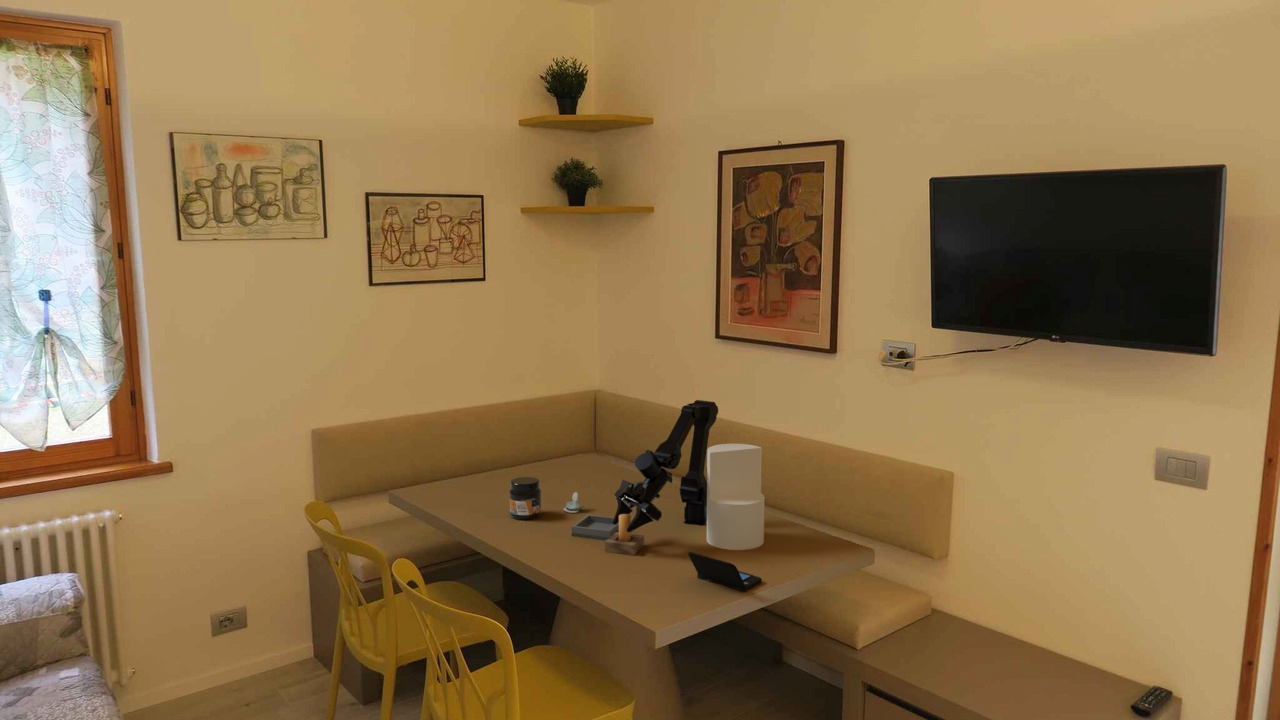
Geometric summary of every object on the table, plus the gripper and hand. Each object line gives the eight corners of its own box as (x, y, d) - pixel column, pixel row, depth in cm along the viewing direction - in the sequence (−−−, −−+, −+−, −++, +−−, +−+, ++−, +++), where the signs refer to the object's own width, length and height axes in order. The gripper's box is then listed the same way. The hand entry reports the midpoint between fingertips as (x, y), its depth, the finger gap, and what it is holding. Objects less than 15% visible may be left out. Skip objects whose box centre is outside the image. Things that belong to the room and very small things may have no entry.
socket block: (644, 545, 265) (644, 535, 264) (633, 555, 256) (633, 545, 256) (616, 541, 268) (616, 532, 267) (604, 551, 259) (604, 541, 259)
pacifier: (572, 515, 294) (586, 511, 297) (571, 497, 293) (586, 493, 296) (559, 510, 299) (574, 506, 303) (558, 492, 298) (573, 488, 302)
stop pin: (632, 547, 263) (632, 514, 262) (628, 551, 260) (628, 518, 258) (621, 545, 264) (621, 513, 263) (617, 549, 261) (616, 516, 259)
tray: (624, 527, 280) (624, 518, 280) (609, 540, 269) (609, 531, 268) (587, 523, 285) (587, 514, 284) (571, 535, 273) (571, 526, 272)
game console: (764, 583, 236) (764, 550, 235) (734, 599, 226) (734, 565, 225) (717, 569, 246) (717, 537, 245) (686, 583, 236) (686, 550, 235)
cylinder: (697, 534, 274) (697, 446, 270) (747, 528, 280) (748, 441, 276) (721, 553, 258) (722, 459, 254) (774, 545, 264) (775, 454, 260)
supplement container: (520, 522, 286) (519, 486, 284) (503, 515, 294) (502, 479, 292) (547, 516, 292) (547, 481, 290) (530, 508, 300) (529, 474, 299)
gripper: (619, 463, 269) (588, 504, 264) (653, 477, 253) (620, 520, 249) (641, 484, 274) (611, 524, 270) (675, 499, 258) (643, 542, 254)
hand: (620, 527), depth 260 cm, fingers open, 8 cm apart
